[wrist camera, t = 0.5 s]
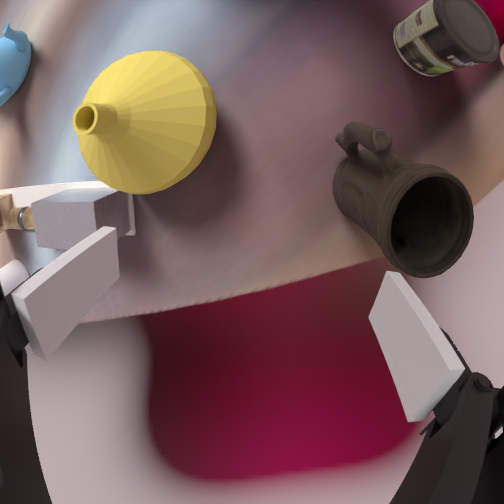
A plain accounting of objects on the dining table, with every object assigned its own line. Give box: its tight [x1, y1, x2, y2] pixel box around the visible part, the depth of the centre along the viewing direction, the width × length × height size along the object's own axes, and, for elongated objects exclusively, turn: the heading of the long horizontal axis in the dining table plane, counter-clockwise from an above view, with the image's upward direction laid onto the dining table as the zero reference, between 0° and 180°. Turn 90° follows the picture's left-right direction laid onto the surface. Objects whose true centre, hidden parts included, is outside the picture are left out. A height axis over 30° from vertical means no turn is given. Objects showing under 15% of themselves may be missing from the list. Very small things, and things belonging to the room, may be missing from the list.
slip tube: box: [8, 206, 35, 230], centre depth 35 cm, size 20×4×4 cm, turn 87°
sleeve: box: [31, 187, 132, 250], centre depth 37 cm, size 7×13×10 cm, turn 87°
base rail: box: [0, 181, 136, 236], centre depth 42 cm, size 9×40×1 cm, turn 87°
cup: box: [0, 260, 30, 296], centre depth 45 cm, size 8×12×10 cm
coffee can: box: [393, 0, 499, 77], centre depth 21 cm, size 10×10×14 cm
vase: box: [73, 50, 217, 194], centre depth 27 cm, size 18×18×19 cm
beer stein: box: [333, 122, 474, 278], centre depth 28 cm, size 15×11×20 cm
